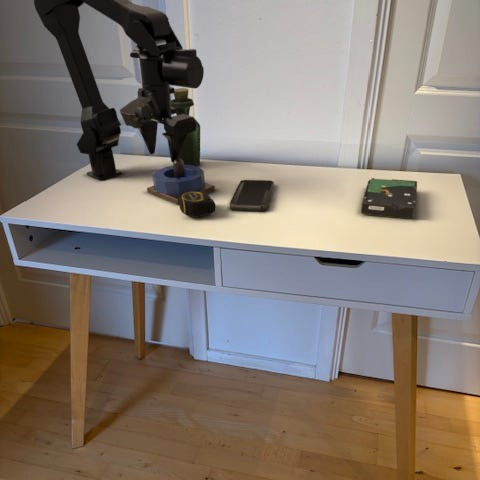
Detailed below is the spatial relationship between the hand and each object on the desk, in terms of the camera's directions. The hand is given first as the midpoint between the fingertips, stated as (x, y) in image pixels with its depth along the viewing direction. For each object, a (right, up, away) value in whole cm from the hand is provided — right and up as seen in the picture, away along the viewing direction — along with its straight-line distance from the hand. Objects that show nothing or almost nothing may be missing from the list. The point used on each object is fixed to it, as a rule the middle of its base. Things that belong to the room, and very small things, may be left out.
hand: (162, 157), depth 111 cm
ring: (+4, -6, 0) cm, 7 cm away
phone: (+20, -10, -3) cm, 23 cm away
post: (+4, -7, +1) cm, 9 cm away
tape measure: (+9, -14, -9) cm, 19 cm away
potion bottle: (+4, +3, +16) cm, 17 cm away
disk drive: (+49, -13, -8) cm, 51 cm away
